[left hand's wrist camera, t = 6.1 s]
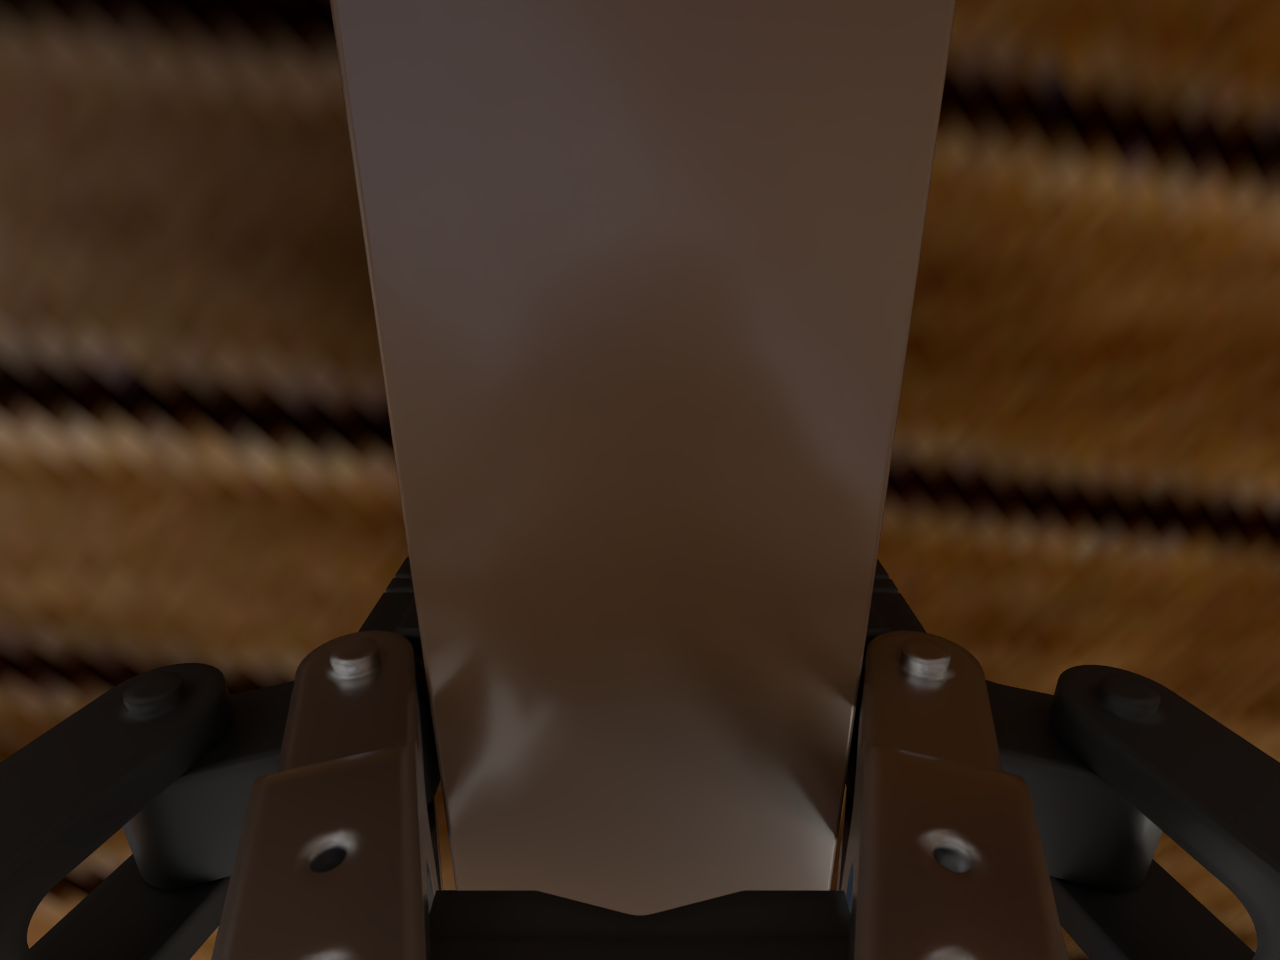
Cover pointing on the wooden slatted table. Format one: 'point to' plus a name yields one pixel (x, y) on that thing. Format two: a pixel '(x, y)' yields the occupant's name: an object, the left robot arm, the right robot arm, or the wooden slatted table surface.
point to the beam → (643, 410)
